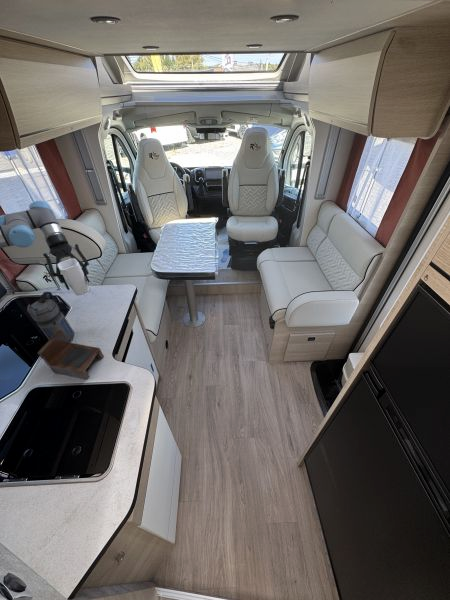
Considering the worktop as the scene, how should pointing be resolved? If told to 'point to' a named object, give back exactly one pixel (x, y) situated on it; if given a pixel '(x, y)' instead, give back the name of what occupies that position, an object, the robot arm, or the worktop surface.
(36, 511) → the worktop surface
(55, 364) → the shelf
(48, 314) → the beverage bottle
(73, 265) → the cup
